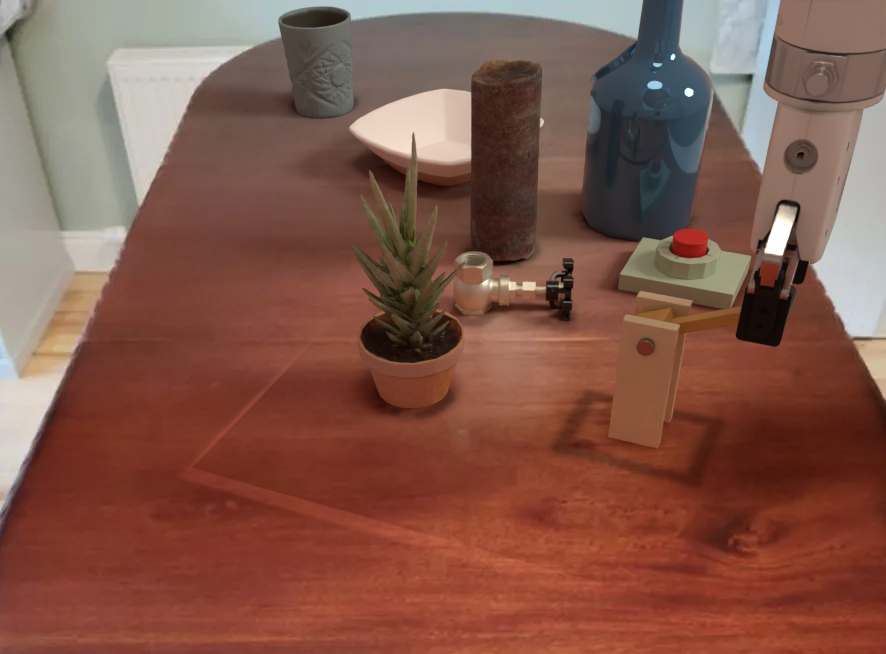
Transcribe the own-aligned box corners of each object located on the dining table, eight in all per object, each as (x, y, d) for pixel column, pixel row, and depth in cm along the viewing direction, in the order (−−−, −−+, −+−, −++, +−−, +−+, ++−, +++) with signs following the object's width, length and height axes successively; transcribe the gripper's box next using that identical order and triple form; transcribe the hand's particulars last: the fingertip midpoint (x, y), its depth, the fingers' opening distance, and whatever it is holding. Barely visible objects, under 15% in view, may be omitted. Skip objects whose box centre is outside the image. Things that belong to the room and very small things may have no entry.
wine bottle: (712, 213, 120) (765, -84, 98) (659, 257, 112) (704, -54, 91) (612, 186, 126) (641, -100, 104) (556, 226, 118) (575, -73, 97)
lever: (799, 305, 77) (793, 276, 76) (787, 336, 74) (781, 307, 73) (650, 330, 84) (643, 304, 83) (634, 361, 81) (626, 334, 80)
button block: (747, 274, 109) (754, 239, 106) (729, 314, 103) (736, 278, 101) (640, 255, 113) (645, 221, 110) (617, 292, 107) (621, 257, 104)
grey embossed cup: (354, 119, 143) (347, 27, 135) (284, 120, 143) (272, 28, 135) (360, 94, 150) (353, 4, 142) (293, 95, 151) (282, 5, 142)
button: (709, 247, 106) (712, 231, 105) (700, 262, 104) (703, 246, 103) (675, 241, 107) (678, 226, 106) (667, 256, 105) (669, 240, 104)
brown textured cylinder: (513, 277, 110) (520, 83, 96) (457, 261, 113) (455, 70, 99) (546, 248, 114) (557, 59, 100) (491, 234, 117) (494, 48, 103)
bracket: (717, 427, 90) (745, 297, 81) (692, 485, 84) (720, 353, 75) (589, 398, 94) (602, 271, 84) (558, 453, 88) (568, 322, 79)
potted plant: (387, 442, 90) (367, 165, 72) (348, 389, 96) (320, 121, 78) (486, 412, 92) (490, 138, 75) (442, 362, 98) (436, 98, 81)
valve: (451, 335, 102) (569, 337, 101) (450, 275, 97) (574, 276, 96) (455, 302, 106) (568, 304, 106) (454, 243, 102) (573, 244, 101)
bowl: (563, 160, 131) (565, 118, 128) (451, 216, 121) (450, 172, 117) (443, 120, 142) (442, 81, 138) (331, 168, 131) (326, 127, 128)
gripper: (871, 123, 57) (800, 379, 69) (905, 31, 68) (838, 267, 80) (740, 106, 59) (693, 357, 72) (792, 20, 70) (744, 251, 83)
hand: (770, 309), depth 76 cm, fingers open, 9 cm apart
